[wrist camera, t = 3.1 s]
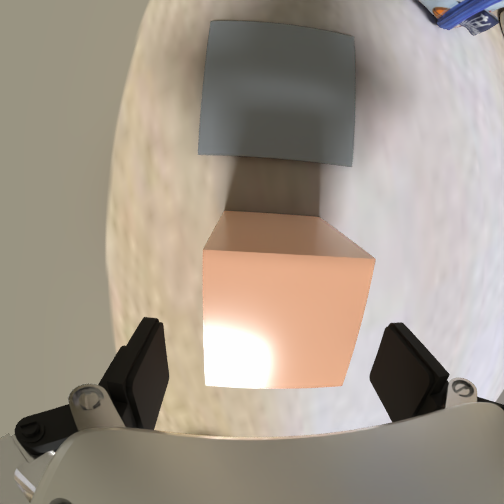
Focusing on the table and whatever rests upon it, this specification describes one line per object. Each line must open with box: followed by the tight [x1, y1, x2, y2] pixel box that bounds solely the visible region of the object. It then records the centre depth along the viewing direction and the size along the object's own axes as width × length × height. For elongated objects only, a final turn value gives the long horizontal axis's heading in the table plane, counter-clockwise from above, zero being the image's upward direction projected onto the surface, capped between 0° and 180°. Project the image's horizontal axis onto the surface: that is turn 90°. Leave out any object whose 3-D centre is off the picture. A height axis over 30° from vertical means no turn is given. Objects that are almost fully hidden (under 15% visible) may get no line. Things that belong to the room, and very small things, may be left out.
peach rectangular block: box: [203, 211, 375, 388], centre depth 17 cm, size 7×7×10 cm
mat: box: [198, 21, 355, 167], centre depth 17 cm, size 11×11×1 cm
